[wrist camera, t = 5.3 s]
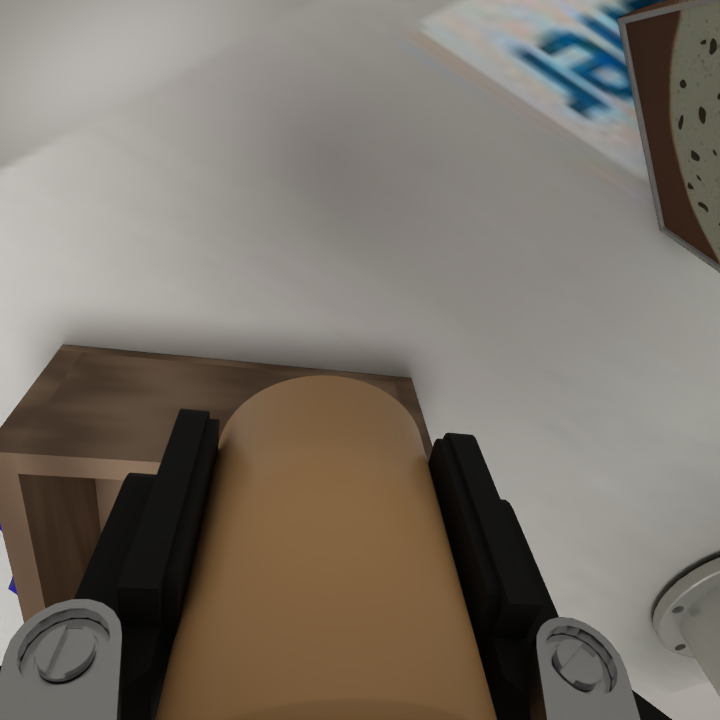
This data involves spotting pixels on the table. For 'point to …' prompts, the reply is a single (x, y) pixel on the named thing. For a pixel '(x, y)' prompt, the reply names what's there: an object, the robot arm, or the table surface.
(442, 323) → the table surface
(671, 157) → the food container
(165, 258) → the table surface
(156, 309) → the table surface
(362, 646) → the peg
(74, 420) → the housing
